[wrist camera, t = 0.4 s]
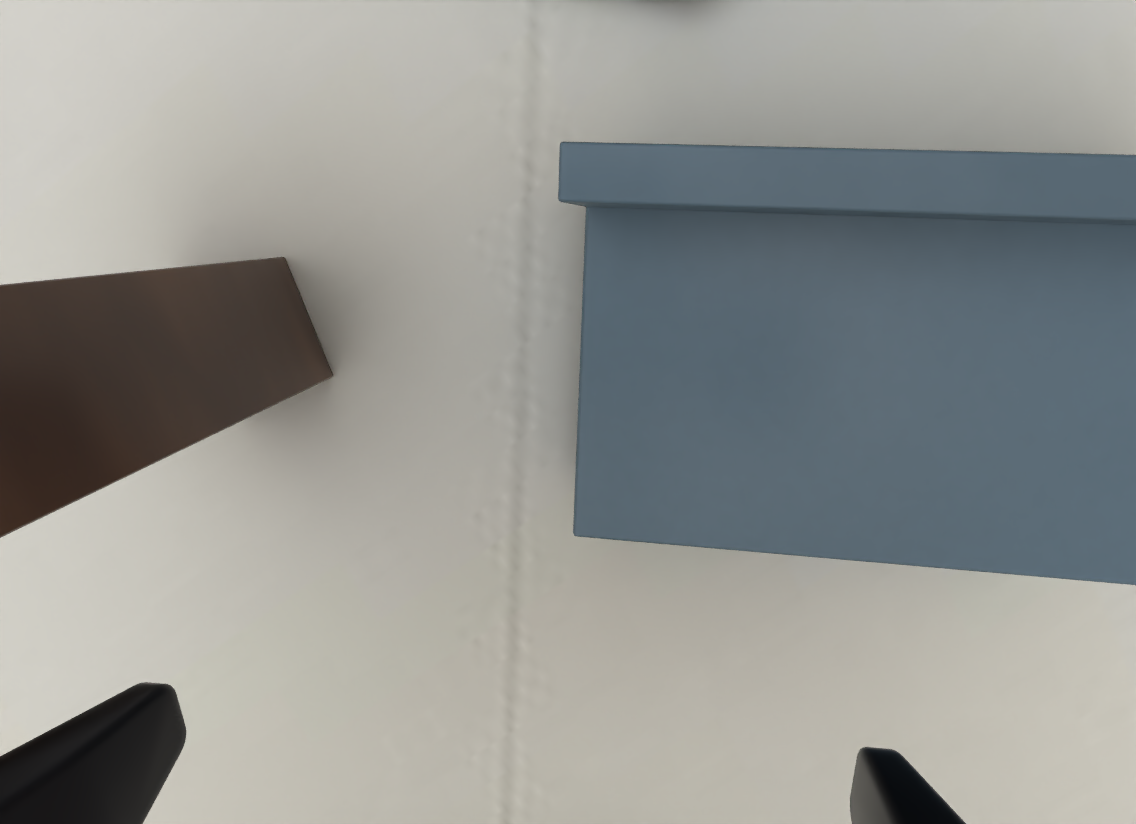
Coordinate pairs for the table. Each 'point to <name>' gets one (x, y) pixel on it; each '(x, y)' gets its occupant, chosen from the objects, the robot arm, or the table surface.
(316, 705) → the table surface
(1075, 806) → the table surface
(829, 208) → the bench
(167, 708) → the robot arm
